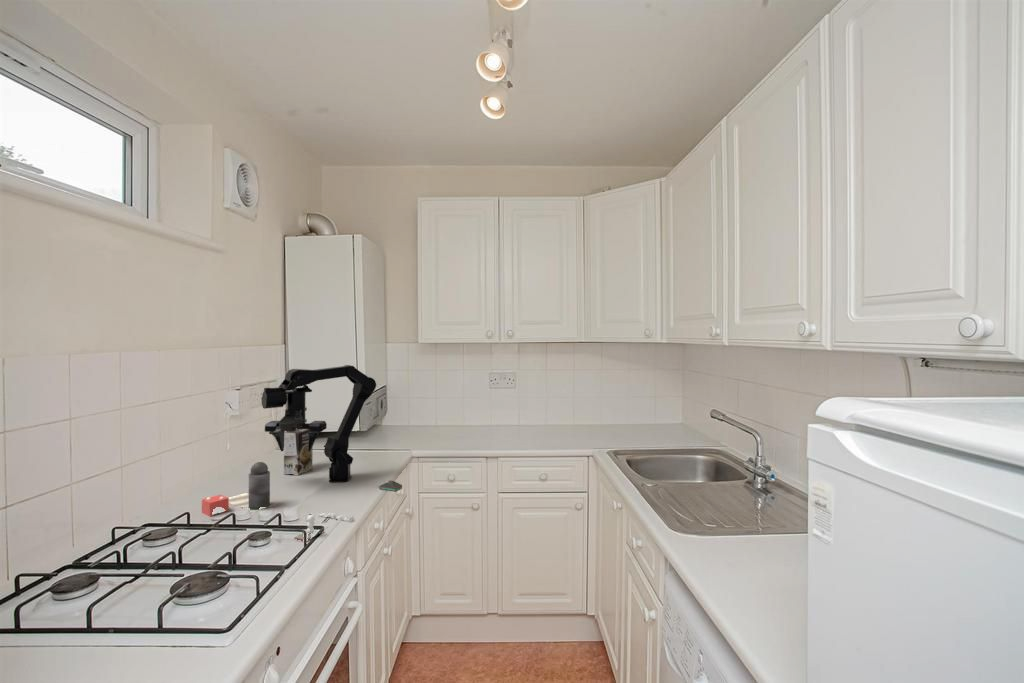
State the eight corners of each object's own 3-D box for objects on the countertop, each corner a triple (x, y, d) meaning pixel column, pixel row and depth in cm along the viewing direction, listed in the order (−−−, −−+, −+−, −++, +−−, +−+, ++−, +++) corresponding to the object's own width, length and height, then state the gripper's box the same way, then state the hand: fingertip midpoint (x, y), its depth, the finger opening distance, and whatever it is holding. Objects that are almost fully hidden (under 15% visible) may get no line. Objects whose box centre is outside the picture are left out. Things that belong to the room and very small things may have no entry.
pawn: (270, 501, 142) (270, 459, 142) (269, 508, 137) (269, 463, 137) (249, 504, 140) (249, 460, 140) (247, 510, 135) (247, 465, 135)
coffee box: (298, 476, 173) (298, 433, 172) (283, 474, 174) (283, 432, 174) (313, 469, 182) (313, 428, 181) (298, 468, 183) (299, 427, 183)
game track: (213, 504, 143) (213, 500, 143) (250, 494, 152) (250, 490, 152) (246, 519, 132) (246, 515, 132) (283, 507, 141) (284, 503, 141)
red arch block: (201, 516, 134) (201, 497, 133) (220, 511, 138) (220, 492, 138) (209, 520, 131) (209, 501, 131) (228, 515, 135) (228, 496, 135)
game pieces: (313, 545, 117) (313, 523, 117) (274, 537, 122) (274, 515, 122) (409, 490, 160) (409, 473, 160) (378, 485, 164) (378, 469, 164)
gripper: (256, 409, 149) (256, 457, 149) (315, 409, 150) (315, 457, 151) (272, 404, 160) (272, 449, 161) (327, 404, 162) (326, 448, 162)
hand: (296, 451), depth 158 cm, fingers open, 9 cm apart
